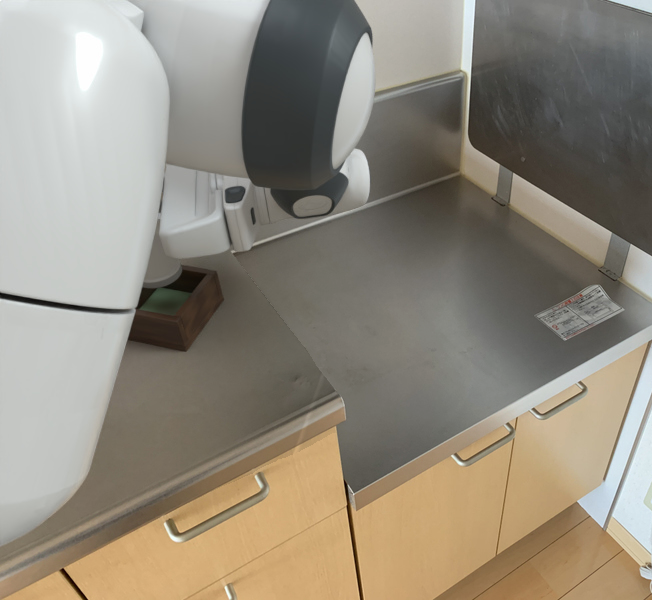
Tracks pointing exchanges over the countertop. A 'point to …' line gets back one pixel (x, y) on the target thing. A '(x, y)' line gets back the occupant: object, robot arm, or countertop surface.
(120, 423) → the countertop surface
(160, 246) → the travel mug
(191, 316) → the divided wooden tray
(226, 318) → the countertop surface
